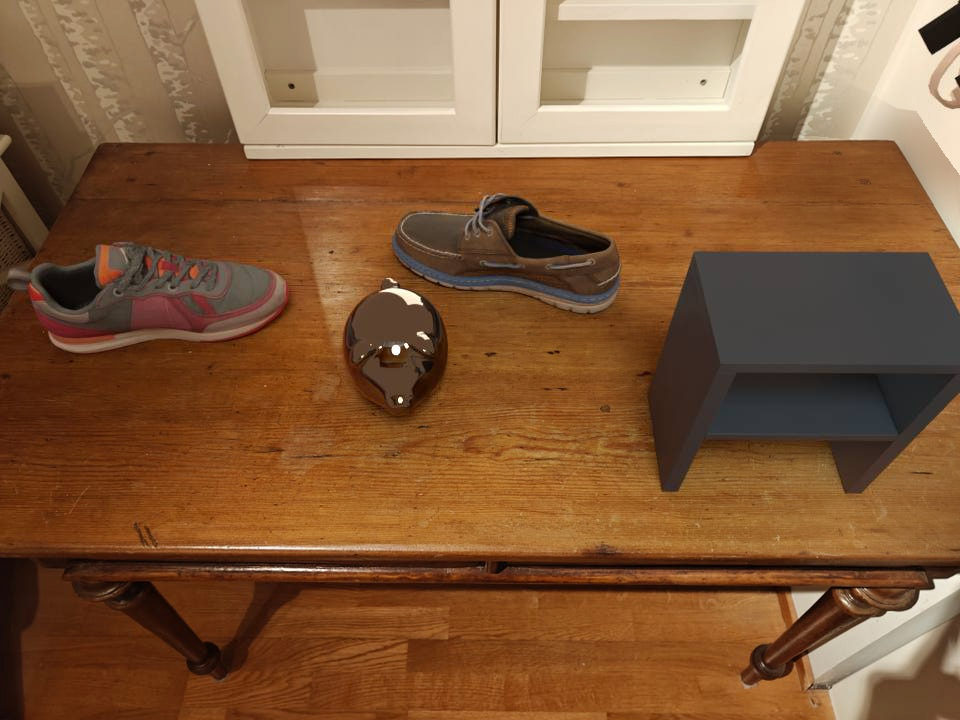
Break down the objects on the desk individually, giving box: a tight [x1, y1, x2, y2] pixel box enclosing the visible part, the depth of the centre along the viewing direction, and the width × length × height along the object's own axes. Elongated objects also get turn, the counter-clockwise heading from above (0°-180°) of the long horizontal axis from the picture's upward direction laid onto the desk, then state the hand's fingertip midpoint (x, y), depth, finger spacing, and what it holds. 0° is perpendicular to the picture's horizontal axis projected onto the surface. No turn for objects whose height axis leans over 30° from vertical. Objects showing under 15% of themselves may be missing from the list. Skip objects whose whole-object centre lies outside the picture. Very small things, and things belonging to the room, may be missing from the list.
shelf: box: [646, 250, 960, 494], centre depth 65 cm, size 20×12×22 cm, turn 89°
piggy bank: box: [341, 277, 449, 417], centre depth 74 cm, size 11×15×12 cm
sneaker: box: [6, 240, 290, 355], centre depth 80 cm, size 10×28×12 cm, turn 102°
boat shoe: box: [391, 193, 622, 315], centre depth 85 cm, size 10×29×11 cm, turn 74°
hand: (943, 65), depth 59 cm, fingers closed on cup, 7 cm apart
